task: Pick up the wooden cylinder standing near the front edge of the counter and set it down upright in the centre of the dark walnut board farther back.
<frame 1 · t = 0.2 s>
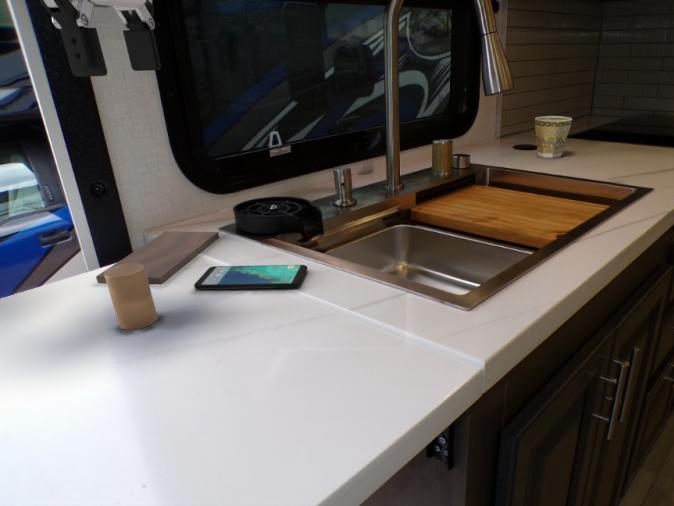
hand: (121, 73, 53), 28 cm above the worktop, tool pointing down, fingers open, 9 cm apart
ceramic cup: (550, 155, 150), on the worktop
walnut board: (164, 257, 85), on the worktop
wooden cylinder: (139, 321, 66), on the worktop
smartphone: (253, 280, 76), on the worktop
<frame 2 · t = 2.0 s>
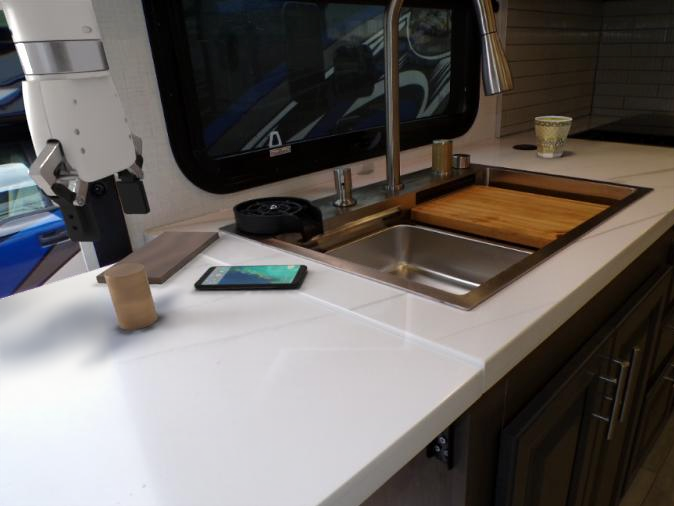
hand: (113, 226, 60), 12 cm above the worktop, tool pointing down, fingers open, 9 cm apart
nothing on the worktop moved.
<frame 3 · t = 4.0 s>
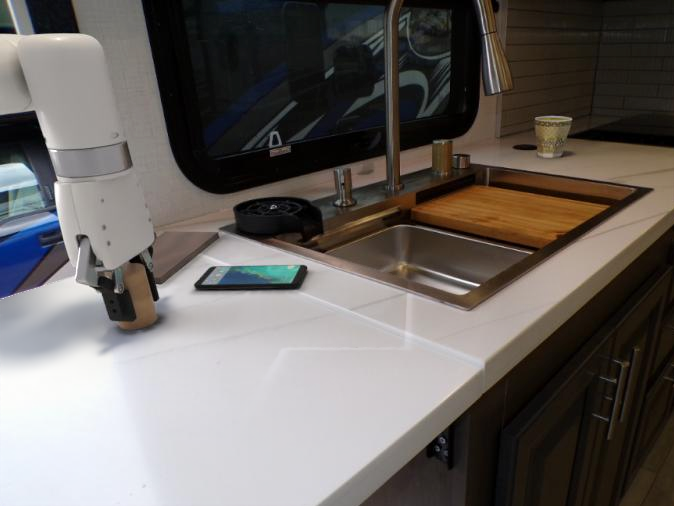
hand: (135, 308, 65), 2 cm above the worktop, tool pointing down, fingers closed on wooden cylinder, 4 cm apart
wooden cylinder: (139, 321, 66), on the worktop, touching gripper
everything else where it was.
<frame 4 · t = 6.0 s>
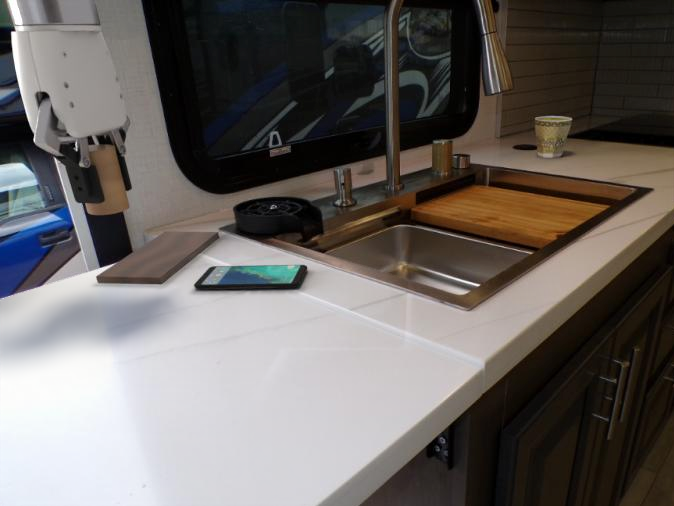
hand: (104, 194, 60), 16 cm above the worktop, tool pointing down, fingers closed on wooden cylinder, 4 cm apart
wooden cylinder: (109, 209, 61), point 14 cm above the worktop, touching gripper
everything else where it was.
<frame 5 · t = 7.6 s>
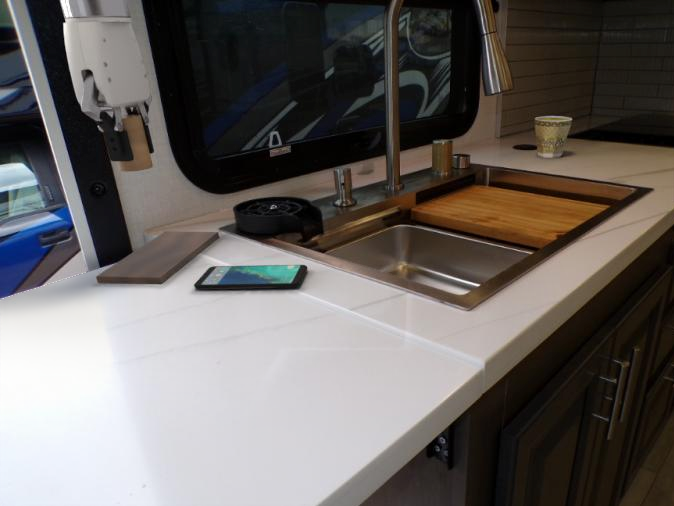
hand: (132, 155, 74), 17 cm above the worktop, tool pointing down, fingers closed on wooden cylinder, 4 cm apart
wooden cylinder: (136, 168, 75), point 15 cm above the worktop, touching gripper
everything else where it was.
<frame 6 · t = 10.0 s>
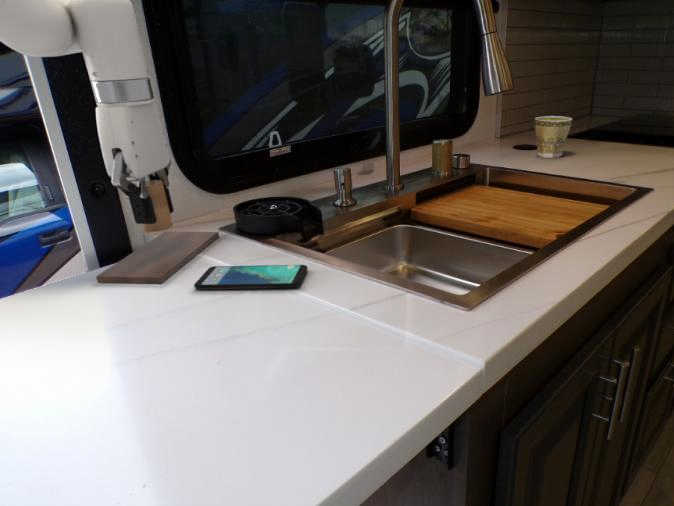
hand: (155, 216, 82), 7 cm above the worktop, tool pointing down, fingers closed on wooden cylinder, 4 cm apart
wooden cylinder: (158, 227, 83), point 5 cm above the worktop, touching gripper
everything else where it was.
when the fingers open (3 cm above the worktop, at t = 11.5 s): wooden cylinder stays where it is, resting on walnut board.
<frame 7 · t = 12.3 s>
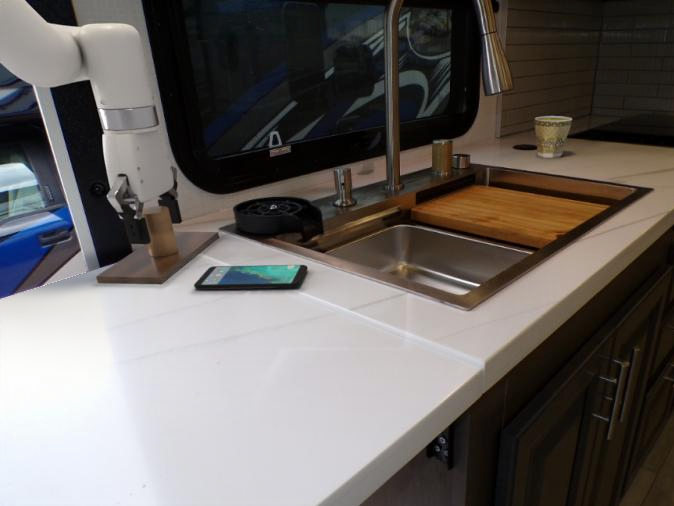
hand: (157, 232, 83), 4 cm above the worktop, tool pointing down, fingers open, 9 cm apart
wooden cylinder: (163, 251, 85), point 1 cm above the worktop, touching walnut board
everything else where it was.
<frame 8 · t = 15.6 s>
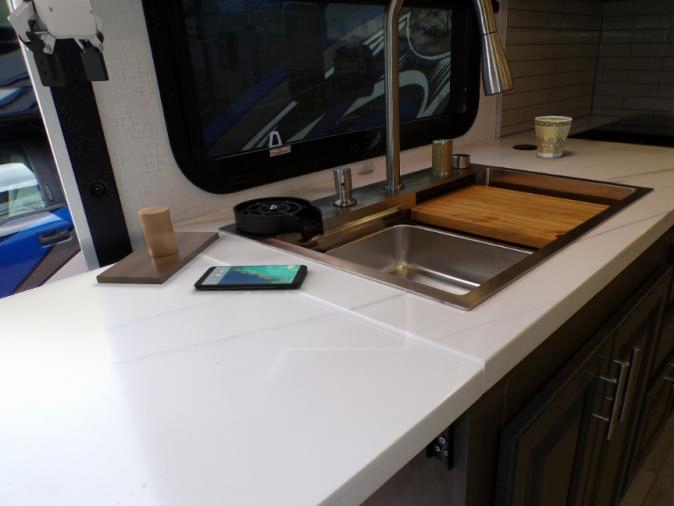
hand: (78, 83, 76), 26 cm above the worktop, tool pointing down, fingers open, 9 cm apart
nothing on the worktop moved.
at the end: wooden cylinder 0.1 cm off-centre on the walnut board, point 1.0 cm above the walnut board's base; wooden cylinder tilted 0°; the gripper is holding nothing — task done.
